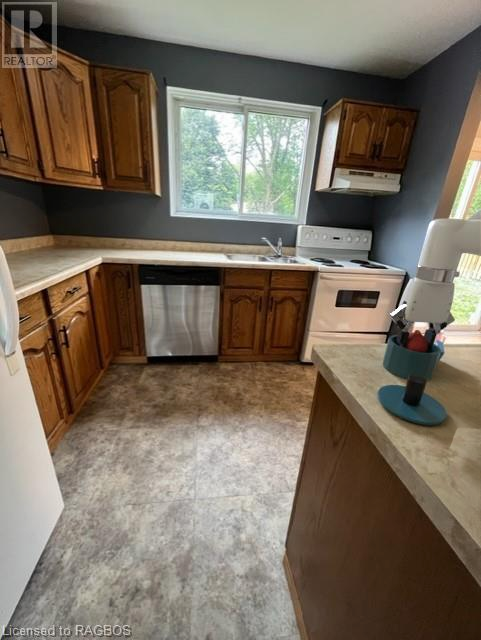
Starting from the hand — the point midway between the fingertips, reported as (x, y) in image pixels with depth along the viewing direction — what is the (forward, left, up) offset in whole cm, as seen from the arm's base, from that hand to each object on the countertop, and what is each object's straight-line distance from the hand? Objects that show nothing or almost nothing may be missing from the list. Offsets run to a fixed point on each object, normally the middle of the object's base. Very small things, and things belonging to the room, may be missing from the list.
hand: (413, 344), depth 69 cm
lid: (+8, +16, -7) cm, 19 cm away
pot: (0, 0, -7) cm, 7 cm away
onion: (0, 0, -4) cm, 4 cm away
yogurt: (-8, -4, -8) cm, 12 cm away
